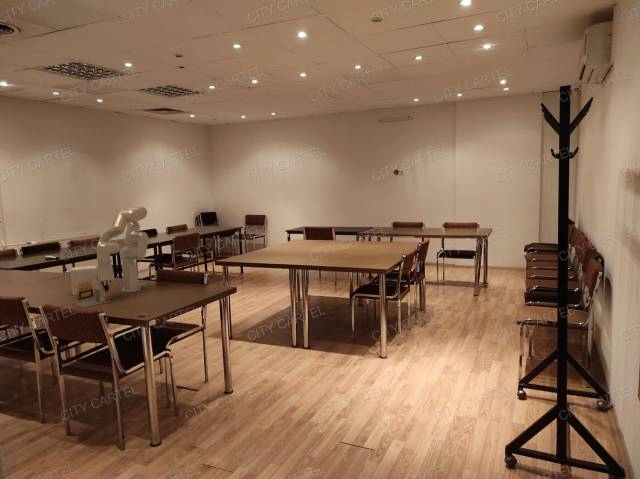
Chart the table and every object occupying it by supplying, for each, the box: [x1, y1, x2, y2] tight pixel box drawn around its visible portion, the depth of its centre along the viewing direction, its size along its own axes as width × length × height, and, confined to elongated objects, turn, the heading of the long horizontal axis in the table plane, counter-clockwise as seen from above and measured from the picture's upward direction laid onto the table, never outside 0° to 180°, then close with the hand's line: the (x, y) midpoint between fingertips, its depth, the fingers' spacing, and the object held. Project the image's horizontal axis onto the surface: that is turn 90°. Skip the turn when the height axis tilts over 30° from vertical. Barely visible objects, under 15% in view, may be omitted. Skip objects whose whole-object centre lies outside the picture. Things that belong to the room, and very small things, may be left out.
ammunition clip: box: [76, 280, 95, 301], centre depth 308 cm, size 11×2×12 cm, turn 153°
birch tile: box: [94, 287, 107, 302], centre depth 296 cm, size 3×7×8 cm, turn 50°
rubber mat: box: [73, 298, 113, 309], centre depth 293 cm, size 18×14×1 cm
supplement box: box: [69, 264, 103, 296], centre depth 324 cm, size 17×13×18 cm
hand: (106, 291), depth 299 cm, fingers closed
